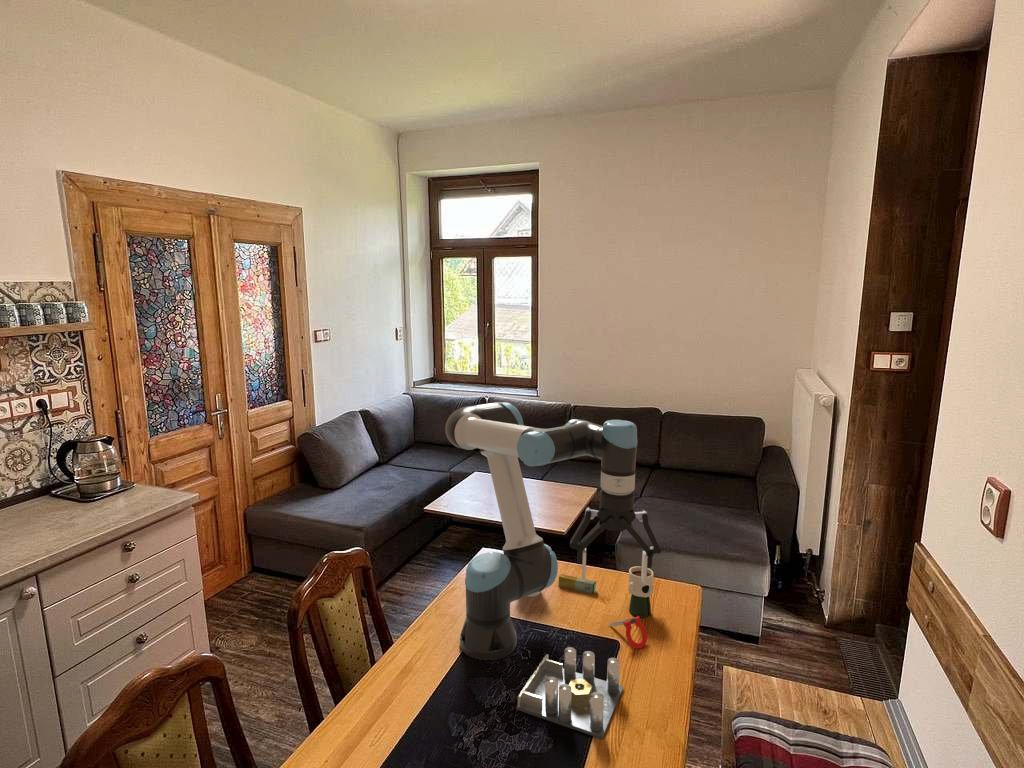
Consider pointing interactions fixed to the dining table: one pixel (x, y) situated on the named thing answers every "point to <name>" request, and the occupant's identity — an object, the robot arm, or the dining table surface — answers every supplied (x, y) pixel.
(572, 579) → the medication box
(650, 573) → the character mug
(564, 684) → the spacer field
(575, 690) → the nut
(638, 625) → the tow hook
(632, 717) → the dining table surface
